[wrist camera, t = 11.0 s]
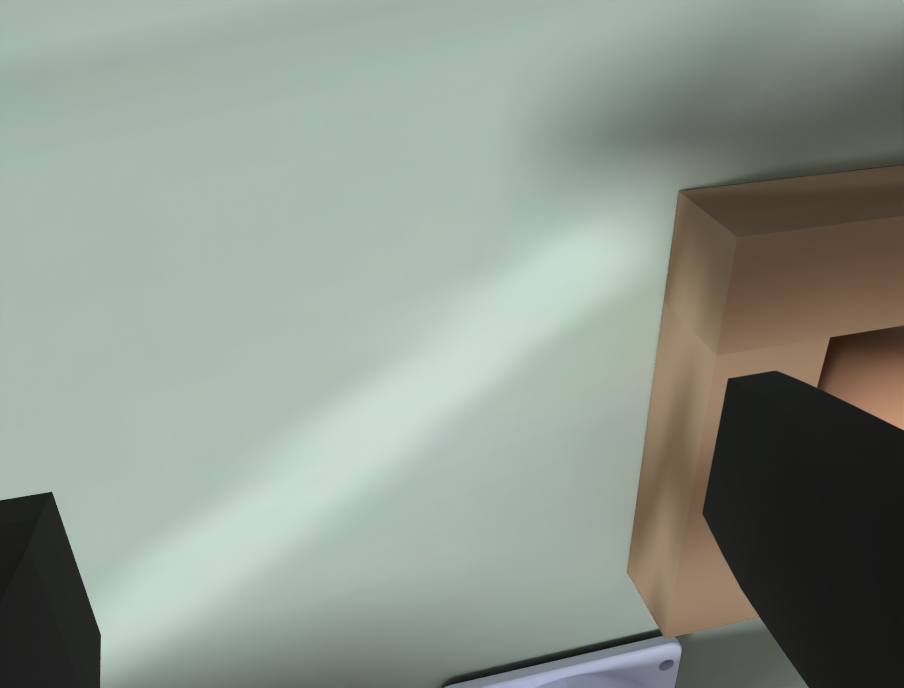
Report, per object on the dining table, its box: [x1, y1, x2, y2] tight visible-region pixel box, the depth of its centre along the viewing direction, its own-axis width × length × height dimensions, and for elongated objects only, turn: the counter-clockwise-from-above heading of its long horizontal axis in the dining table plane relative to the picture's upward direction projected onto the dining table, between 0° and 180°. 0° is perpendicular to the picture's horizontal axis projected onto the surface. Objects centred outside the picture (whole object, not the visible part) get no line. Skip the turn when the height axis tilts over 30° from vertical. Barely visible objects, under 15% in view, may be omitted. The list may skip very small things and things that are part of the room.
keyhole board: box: [627, 165, 904, 639], centre depth 23 cm, size 12×12×2 cm
